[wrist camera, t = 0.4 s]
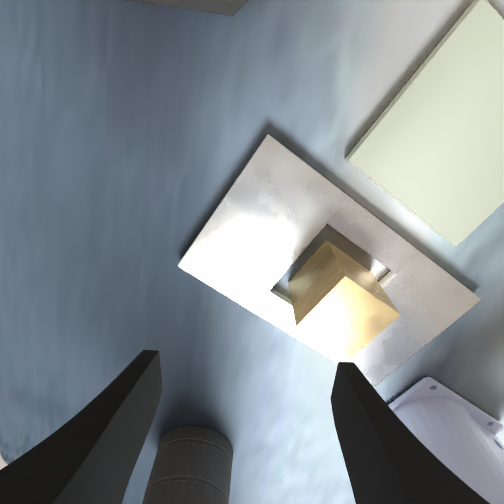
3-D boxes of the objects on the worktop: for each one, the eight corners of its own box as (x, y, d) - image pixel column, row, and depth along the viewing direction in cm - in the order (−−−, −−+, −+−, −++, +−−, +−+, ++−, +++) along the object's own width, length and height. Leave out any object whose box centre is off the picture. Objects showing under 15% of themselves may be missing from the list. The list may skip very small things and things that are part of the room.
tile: (579, 119, 17) (594, 119, 16) (448, 242, 20) (455, 247, 19) (472, 2, 15) (483, -4, 14) (344, 158, 18) (348, 160, 17)
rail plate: (474, 293, 21) (481, 299, 21) (371, 378, 25) (375, 386, 24) (267, 133, 17) (268, 134, 17) (180, 260, 21) (177, 266, 20)
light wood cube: (370, 271, 21) (401, 314, 16) (331, 310, 22) (349, 360, 18) (325, 239, 20) (345, 275, 16) (288, 282, 21) (295, 327, 17)
